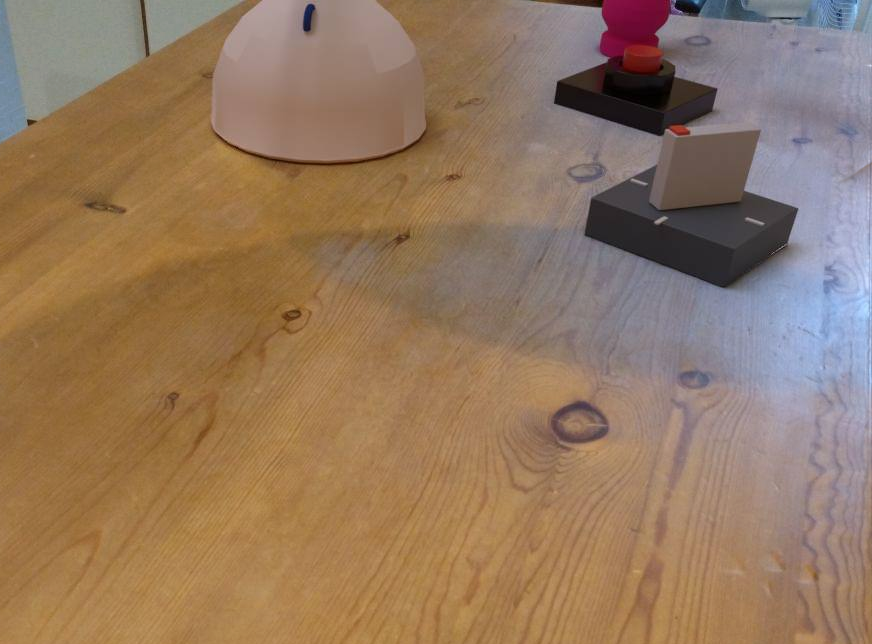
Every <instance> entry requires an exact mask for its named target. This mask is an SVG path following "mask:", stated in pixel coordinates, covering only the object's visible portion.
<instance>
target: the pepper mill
mask: <svg viewBox="0 0 872 644" xmlns="http://www.w3.org/2000/svg"><path fill="white" fill-rule="evenodd" d="M671 4H672V3H671V0H603V2H602V7H601V13H600V14H601V19H602V20H603V22H604V24H605V26H606V27H607V29H606V30H605V31H603V32H602V33H601V38H600V42H599V46H598V47H599V52H600V54H602V55H603V56H605V57H608V58H609V59H610V58H613V57H615V56H622V55H624V52H625V49H626V48H627V47H629V46H633V45H645V46H652V47H656V48H658V47H659V43H660V38H659V36H658V35H657V34H656V33H657V32H658V31H659V30H660V29H661V28H663V27H664V26H665V24H666V23H667V22H668V20H669V18H670V12H671ZM658 49H659V48H658Z"/></svg>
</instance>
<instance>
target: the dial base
mask: <svg viewBox="0 0 872 644" xmlns="http://www.w3.org/2000/svg"><path fill="white" fill-rule="evenodd" d="M656 168H657V164H656V165H654V166H652V167H650V168H647V169H645V170H643V171H641V172H640V173H638V174H635V175H633V176H632V177H630V178H627V179H626V180H624V181H622V182H620V183H618V184H616V185H613V186H612V187H610V188H608V189H606V190H604V191H602V192H599V193H597V194H596V195H594V196H592V197H590V203H589V208H588V213H587V218H586V224H585V228H584V236H587V237H590V238H593V239H595V240H598V241H600V242H603V243H606V244H607V245H608V244H609V245H612V246H614V247H616V248H619V249H621V250H624V251H627V252H629V253H632V254H635V255H638V256H640V257H643V258H645V259H648V260H650V261H654V262H656V263H658V264H661V265H664V266H666V267H669V268H673V269H674V270H677V271H680V272H682V273H685V274H688V275H690V276H693V277H696V278H698V279H701V280H703V281H706V282H709V283H711V284H714V283H715V284H714V285H716V286H719V285H720V286H719V287H722V286H723V287H722V288H725V287H727V286H728V285H730V284H731V283H732V282H734V281H735V280H737V279H738V278H740V277H741V276H743V275H744V274H746V273H747V272H749V271H750V270H752V269H753V268H755V267H756V266H758V265H759V264H761V263H762V262H764V261H765V260H767V259H768V258H769V257H768V256H770V255H771V254H772V253H773V252H775V251H776V250H778V249H779V248H781V247H782V246H784V245H785V244H787V245H788V243H789V240H790V236H791V233H792V230H793V228H794V224H795V221H796V218H797V215H798V212H799V208H798V207H796V206H793V205H790V204H787V203H784V202H780V201H778V200H775V199H771V198H768V197H765V196H762V195H759V194H756V193H753V192H750V191H746V190H744V192H743V195H742V199H741V201H740V202H732V203H723V204H714V205H705V206H695V207H686V208H677V209H667V210H658V209H657V208H656V207H654V206H653V205H652V204H651V203H649V199H650V195H651V190H652V186H653V181H654V177H655V173H656ZM771 256H772V255H771ZM771 256H770V257H771ZM767 257H768V258H767ZM766 258H767V259H766ZM764 259H765V260H764ZM763 260H764V261H763ZM761 261H762V262H761ZM760 262H761V263H760ZM758 263H759V264H758ZM757 264H758V265H757ZM755 265H756V266H755ZM754 266H755V267H754ZM752 267H753V268H752ZM751 268H752V269H751ZM749 269H750V270H749ZM748 270H749V271H748ZM746 271H747V272H746ZM745 272H746V273H745ZM743 273H744V274H743ZM742 274H743V275H742ZM739 276H740V277H739ZM737 277H738V278H737ZM736 278H737V279H736ZM733 280H734V281H733ZM730 282H731V283H730ZM727 284H728V285H727ZM724 286H725V287H724Z"/></svg>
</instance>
